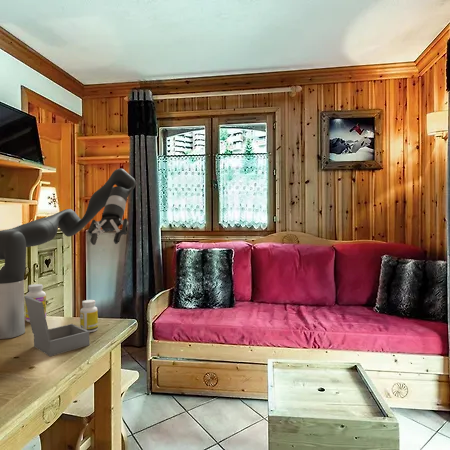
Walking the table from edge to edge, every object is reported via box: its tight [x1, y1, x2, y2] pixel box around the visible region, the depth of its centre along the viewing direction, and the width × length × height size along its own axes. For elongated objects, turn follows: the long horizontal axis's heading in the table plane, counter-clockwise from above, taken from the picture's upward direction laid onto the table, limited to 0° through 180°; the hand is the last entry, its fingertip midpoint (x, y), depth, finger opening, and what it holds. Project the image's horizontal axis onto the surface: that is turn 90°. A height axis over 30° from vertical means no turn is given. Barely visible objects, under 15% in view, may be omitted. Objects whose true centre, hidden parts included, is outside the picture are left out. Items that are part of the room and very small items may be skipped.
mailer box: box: [24, 295, 90, 357], centre depth 101 cm, size 11×13×15 cm
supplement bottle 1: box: [25, 283, 47, 323], centre depth 128 cm, size 7×7×13 cm
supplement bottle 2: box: [79, 299, 99, 333], centre depth 116 cm, size 5×5×10 cm
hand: (104, 243), depth 127 cm, fingers open, 8 cm apart
